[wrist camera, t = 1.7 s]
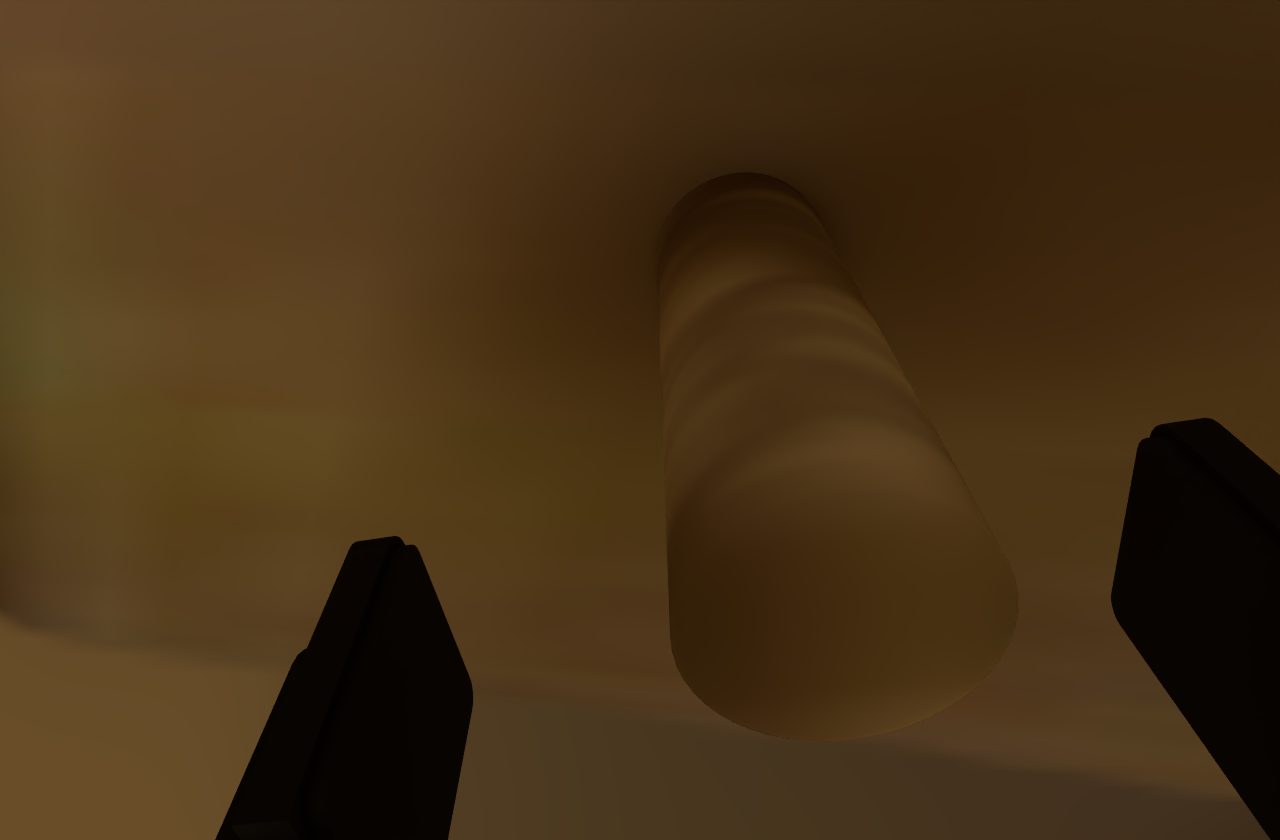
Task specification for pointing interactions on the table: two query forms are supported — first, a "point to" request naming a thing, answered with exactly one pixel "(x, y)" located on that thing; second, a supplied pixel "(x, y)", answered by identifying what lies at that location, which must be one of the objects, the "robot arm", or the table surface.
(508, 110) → the table surface
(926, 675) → the peg
